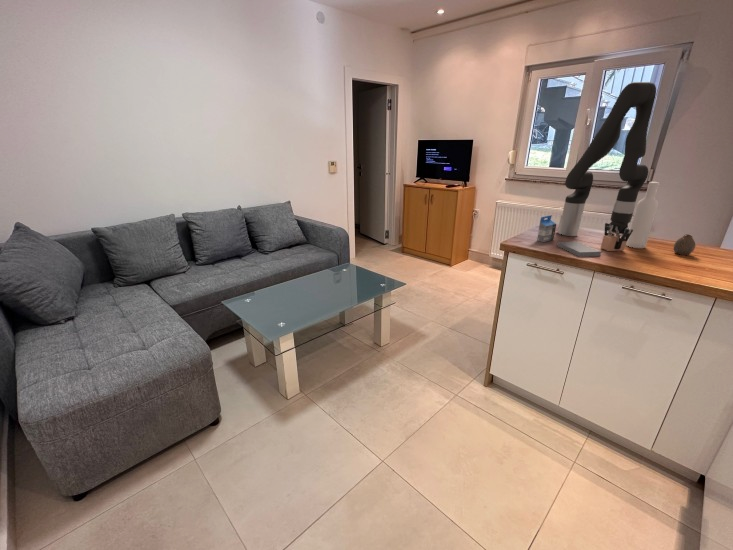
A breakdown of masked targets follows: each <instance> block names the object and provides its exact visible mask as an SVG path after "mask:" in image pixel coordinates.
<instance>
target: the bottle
mask: <svg viewBox="0 0 733 550" xmlns="http://www.w3.org/2000/svg"><path fill="white" fill-rule="evenodd" d="M659 187H660V182H657V181H649V182H648V184H647V187H646V189H647V190H646V192H645V195H644V197H643V198H642V199H639V201H638V202H637V204H636V205H635V208H634V212H633V215H632V218H631V223H630V227H629V229H632V230H633V232H632V233H631V235H630V237H629V238H628V240H627V242H626V245H625V247H628V246H629V247H630V248H632V247H633V248H632V249H645V248H646V246H647V244H648V240H649V237H650V234H651V230H652V227H653V224H654V220H655V218H656V214H657V211H658V208H659V201H658V200H657V198H656V196H657V192H658V189H659ZM629 247H628V248H629Z"/></svg>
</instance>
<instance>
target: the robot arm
mask: <svg viewBox="0 0 733 550" xmlns="http://www.w3.org/2000/svg"><path fill="white" fill-rule="evenodd" d="M656 96H657V86H656V85H655V83H654V82H651V81H650V82H649V81H632V82H630V83H628V84H627V85H626V86H625V87H624V88H623V89H622V90H621V91H620V93H619V95H618V97H617V98H616V101H615V102H614V104H613V106H612V108H611V110H610V112H609V114H608V115H607V117H606V118H605V120H604V122H603V124H602V125H601V127H600V128H599V130H598V131H597V133H596V134H595V136H594V137H593V139H592V141H591V142H590V144H589V145H588V147H587V148H586V150H585V152H583V154H582V156H581V157H580V159H579V160H578V161H577V163H576V164H575V165H574V166H573V168H572V169H571V170H570V171H569V172H568V175H567V176H566V179H565V181H564V183H565V184H564V185H565V188H567V189H569V190H574V192H572V193H571V194H568V195H567V196H566V197H565V200H564V204H563V210H562V214H561V215H560V219H559V224H558V228H557V233H558V234H559V235H561V234H562V236H565V237H567V236H568V237H576V236H578V235H579V230H580V225H581V222H582V218H583V214H584V210H585V205H586V202H587V199H589V196H590V193H591V189H592V186H593V182H594V175H593V172H592V171H591V170H589V169H591V167H592V166H593V165H595V164H596V163H598V162H599V161H601V160H602V159H603V158H605V157H606V156H607V155H608V154H609V153H610V152H611V151H612V149H614V147H615V145H616V144H617V142H618V141H619V139H620V137H621V129H622V124H623V123H622V122H623V120H624V119H625V117H626V115H627V113H628V112H630V110H631V109H632V108H635V117H634V121H633V124H632V126H631V127H630V129H629V130H628V133H627V135H626V138H625V143H624V155H623V158H622V162H621V165H620V168H619V170H618V171H619V172H618V173H619V179H621V181H623V182H627V183H626V185H624V186H622V187H620V189H619V190H618V193H617V197H616V200H615V202H614V205H613V209H612V213H611V214H610V222H606V223H605V224H604V232H603V233H604V235H603V236H612V235H616V236H617V241H616V244H615V247H614V249H620V248H621V245H622V242H623V241H627V240H628V238H629V237H630V235H631V233H632V232H633V230H632V229H630V227H629V223H630V222H631V223H632V219H633V216H634V213H635V209H636V202H637V200H638V199H637V198H638V195H639V192H640V190H641V189H642V188H643V185H644V184H645V182H646V180H647V178H648V176H649V168H648V166H647V165H646V164H641V163H640V164H639V163H638V162H639V161H640V160H639V159H641V158H643V157H644V156H645V155H646V151H647V150H646V149H647V137H648V130H649V125H650V120H651V116H652V113H653V108H654V103H655V101H656ZM620 236H621V239H620ZM624 238H625V239H624Z"/></svg>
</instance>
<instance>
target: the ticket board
mask: <svg viewBox="0 0 733 550" xmlns="http://www.w3.org/2000/svg"><path fill="white" fill-rule="evenodd" d="M558 246H559V247H558ZM556 247H558V248H559V249H562V248H563V249H562V250H564V249H565V251H566V250H567V252H568V251H569V252H568V253H570V252H571V254H573V255H574V256H576V257H600V256H601V254H602V251H601V250H599V249H596V248H594V247H591V246H589V245H587V244H584V243H582V242H581V241H577V240H575V241H557V244H556Z"/></svg>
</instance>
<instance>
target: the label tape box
mask: <svg viewBox="0 0 733 550" xmlns="http://www.w3.org/2000/svg"><path fill="white" fill-rule="evenodd" d="M552 217H553V214H551V215H550V214H549V215H546V216H541V217H540V221H539V226H538V231H537V232H538V233H537V237H536V239H537V240H536V241H537V242H540V241H541V243H546V242H550V241H554V240H555V234H556V231H557V223H556V222H554V220H551V219H552Z"/></svg>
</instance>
